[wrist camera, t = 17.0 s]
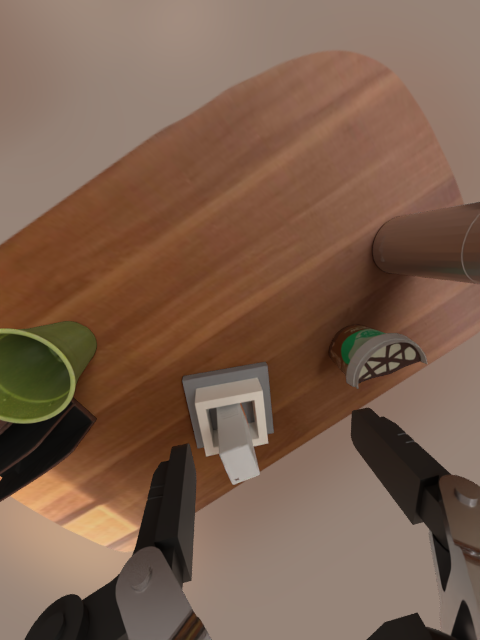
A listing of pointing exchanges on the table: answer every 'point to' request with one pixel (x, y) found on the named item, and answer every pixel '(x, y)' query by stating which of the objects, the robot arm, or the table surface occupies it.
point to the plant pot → (41, 369)
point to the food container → (372, 353)
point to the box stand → (229, 402)
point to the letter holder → (39, 446)
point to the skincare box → (236, 443)
